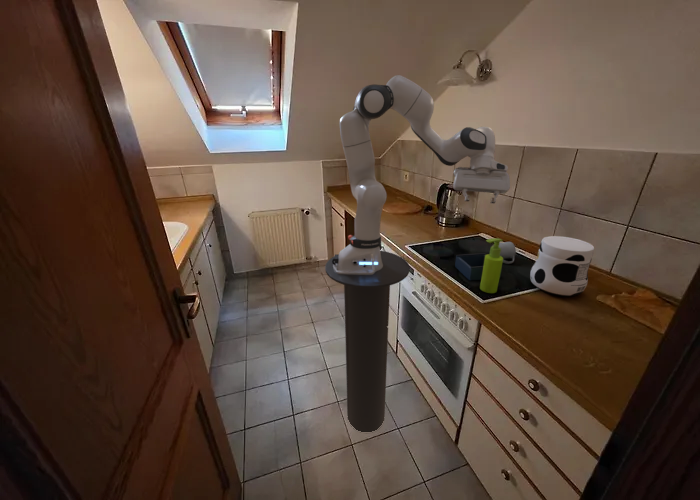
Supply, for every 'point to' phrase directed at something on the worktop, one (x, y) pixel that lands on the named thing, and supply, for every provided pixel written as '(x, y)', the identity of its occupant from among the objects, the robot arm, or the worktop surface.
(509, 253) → the ceramic mug
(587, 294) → the worktop surface
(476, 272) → the blue open box
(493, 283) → the soap dispenser
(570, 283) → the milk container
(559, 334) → the worktop surface
